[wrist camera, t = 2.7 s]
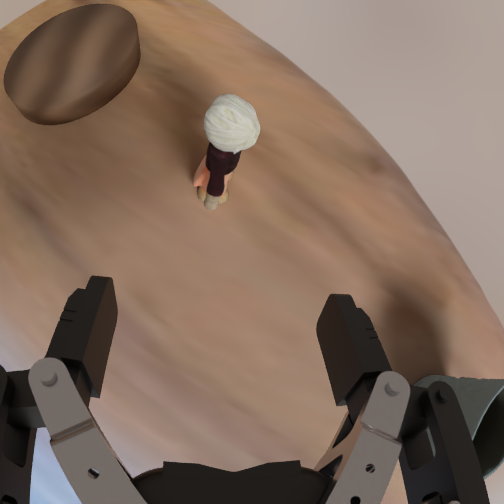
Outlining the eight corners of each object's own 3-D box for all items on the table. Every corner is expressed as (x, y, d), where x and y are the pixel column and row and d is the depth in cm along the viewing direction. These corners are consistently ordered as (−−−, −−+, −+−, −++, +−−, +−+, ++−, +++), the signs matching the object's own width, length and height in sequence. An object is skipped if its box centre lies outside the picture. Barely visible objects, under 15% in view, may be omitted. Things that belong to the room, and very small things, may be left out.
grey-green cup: (397, 460, 27) (464, 501, 16) (383, 393, 28) (464, 425, 16) (456, 415, 29) (525, 437, 18) (447, 350, 30) (527, 359, 19)
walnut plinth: (-2, 129, 24) (-17, 112, 20) (46, 32, 27) (38, 13, 23) (120, 123, 27) (112, 101, 23) (154, 23, 30) (153, 0, 26)
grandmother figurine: (196, 147, 28) (203, 56, 16) (237, 151, 29) (267, 63, 16) (189, 226, 27) (187, 169, 15) (232, 229, 28) (265, 176, 15)
